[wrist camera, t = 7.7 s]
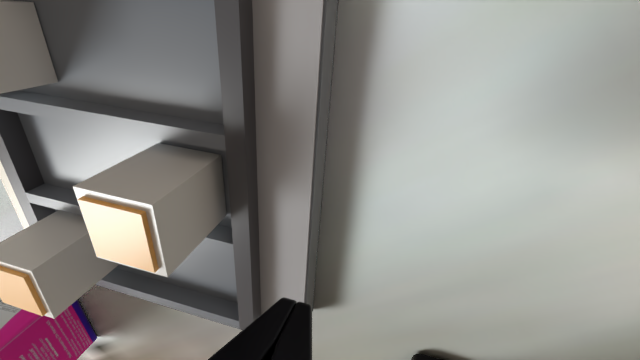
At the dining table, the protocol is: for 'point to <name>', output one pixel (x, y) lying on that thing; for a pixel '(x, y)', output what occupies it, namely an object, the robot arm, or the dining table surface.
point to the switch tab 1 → (22, 48)
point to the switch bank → (187, 133)
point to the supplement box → (44, 334)
